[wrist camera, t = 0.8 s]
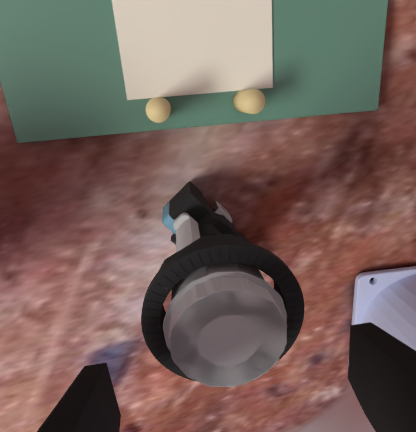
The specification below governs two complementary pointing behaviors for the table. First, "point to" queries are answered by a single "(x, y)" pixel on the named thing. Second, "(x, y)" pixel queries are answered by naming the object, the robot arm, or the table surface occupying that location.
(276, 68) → the board
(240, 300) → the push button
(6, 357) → the table surface
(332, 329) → the table surface
